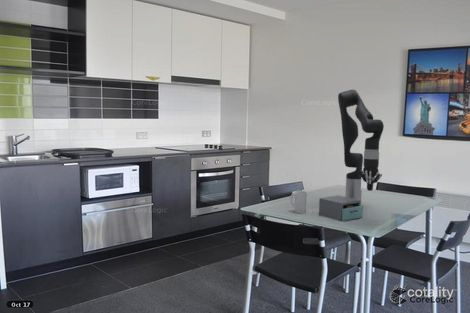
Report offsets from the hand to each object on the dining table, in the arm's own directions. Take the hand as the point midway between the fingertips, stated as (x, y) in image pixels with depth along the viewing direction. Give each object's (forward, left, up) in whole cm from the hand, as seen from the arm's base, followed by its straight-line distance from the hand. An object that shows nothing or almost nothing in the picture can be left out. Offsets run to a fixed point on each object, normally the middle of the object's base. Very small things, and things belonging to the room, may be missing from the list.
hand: (369, 190), depth 223 cm
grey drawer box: (+1, -19, -18) cm, 26 cm away
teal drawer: (+1, -17, -17) cm, 24 cm away
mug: (+14, -39, -18) cm, 45 cm away
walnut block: (+1, -14, -15) cm, 21 cm away
